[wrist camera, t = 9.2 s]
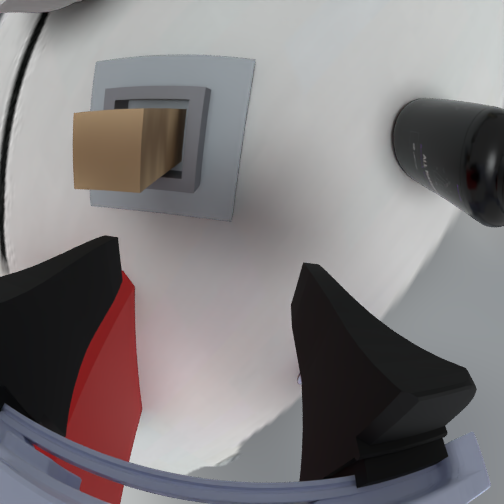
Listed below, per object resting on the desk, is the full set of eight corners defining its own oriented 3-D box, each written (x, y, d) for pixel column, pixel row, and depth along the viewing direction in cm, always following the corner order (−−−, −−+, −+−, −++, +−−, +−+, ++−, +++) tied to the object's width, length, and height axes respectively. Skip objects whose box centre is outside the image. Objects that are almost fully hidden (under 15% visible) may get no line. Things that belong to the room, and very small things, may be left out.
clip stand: (232, 216, 19) (228, 234, 17) (96, 201, 19) (77, 215, 16) (255, 62, 14) (255, 52, 11) (102, 63, 13) (80, 58, 11)
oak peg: (181, 161, 16) (139, 193, 10) (132, 158, 16) (74, 188, 10) (186, 109, 15) (144, 108, 9) (136, 108, 15) (73, 113, 8)
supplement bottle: (377, 162, 17) (495, 236, 7) (404, 82, 14) (538, 85, 3) (439, 195, 18) (540, 273, 8) (464, 125, 15) (578, 166, 4)
